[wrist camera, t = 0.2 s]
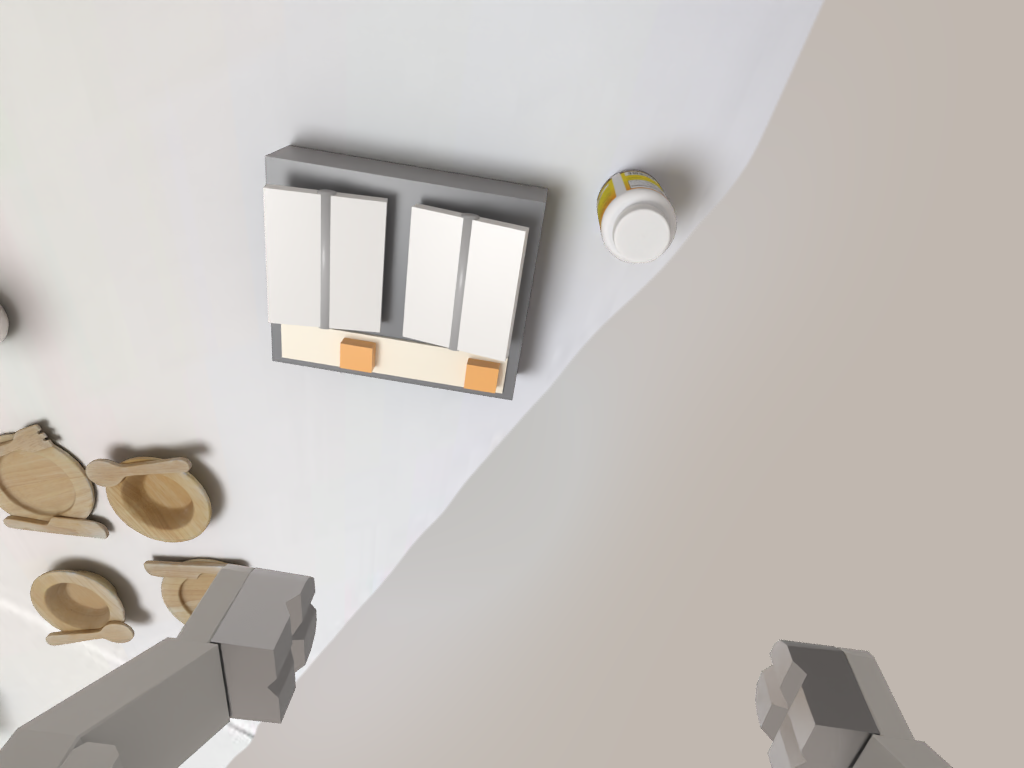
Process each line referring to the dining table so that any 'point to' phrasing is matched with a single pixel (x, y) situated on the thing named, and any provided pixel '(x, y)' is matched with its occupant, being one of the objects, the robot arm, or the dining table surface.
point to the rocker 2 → (463, 281)
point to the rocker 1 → (324, 258)
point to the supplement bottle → (635, 217)
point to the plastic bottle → (3, 324)
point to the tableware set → (103, 529)
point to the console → (389, 348)
